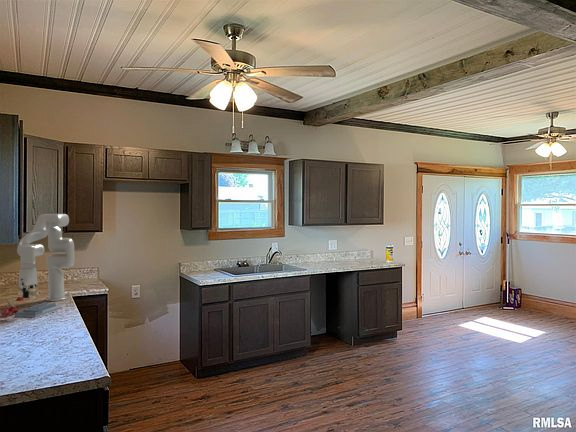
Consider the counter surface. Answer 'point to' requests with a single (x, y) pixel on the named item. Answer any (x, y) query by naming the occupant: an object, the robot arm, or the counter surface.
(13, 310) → the toy fire truck
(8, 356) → the counter surface
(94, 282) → the counter surface
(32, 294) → the tan long rectangular block
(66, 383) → the counter surface
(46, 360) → the counter surface
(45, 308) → the board
